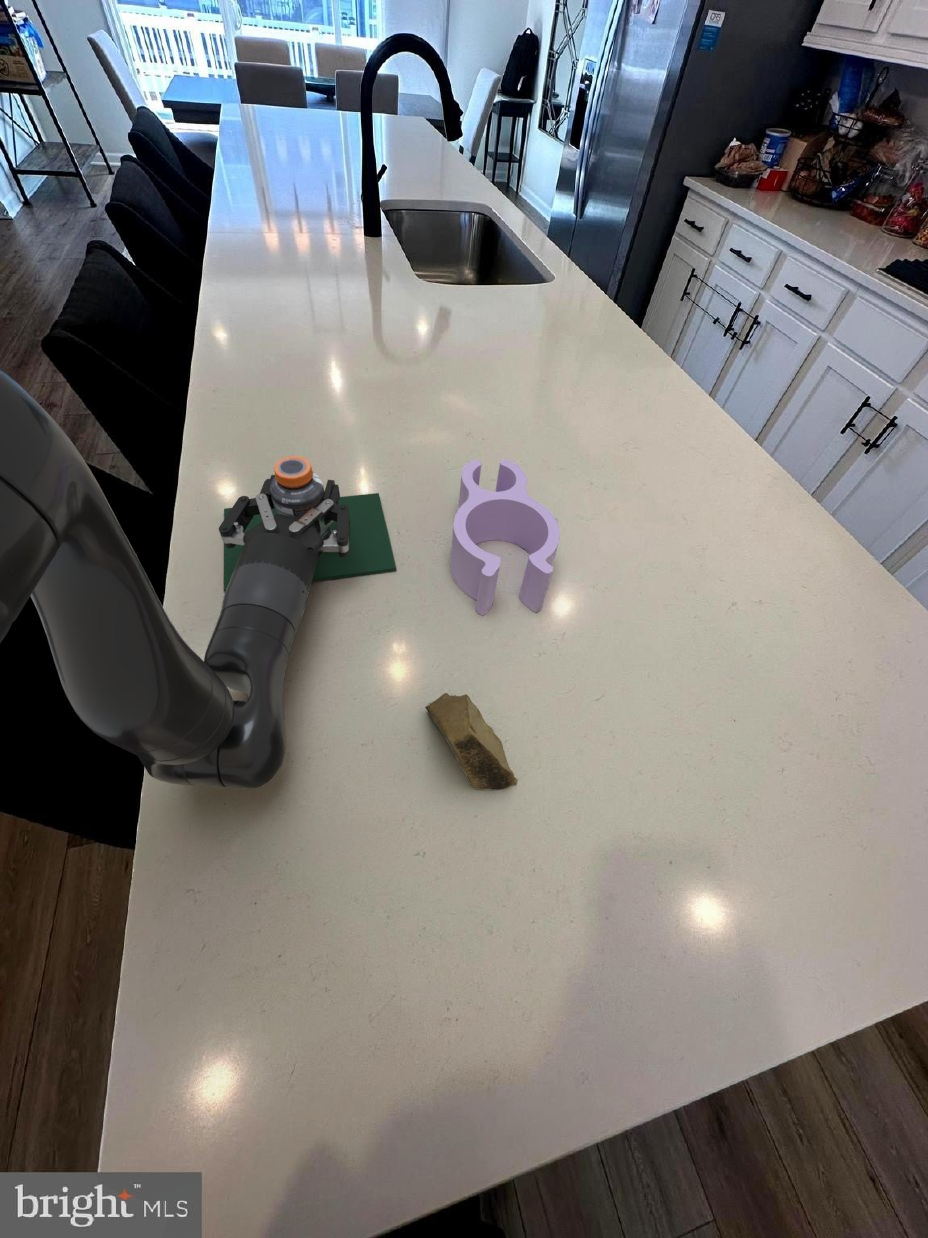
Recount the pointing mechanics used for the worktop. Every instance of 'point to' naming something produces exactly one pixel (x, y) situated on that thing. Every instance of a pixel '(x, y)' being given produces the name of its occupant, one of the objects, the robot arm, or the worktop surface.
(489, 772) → the rock
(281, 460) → the pill bottle
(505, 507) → the clip
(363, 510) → the mat
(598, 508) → the worktop surface
